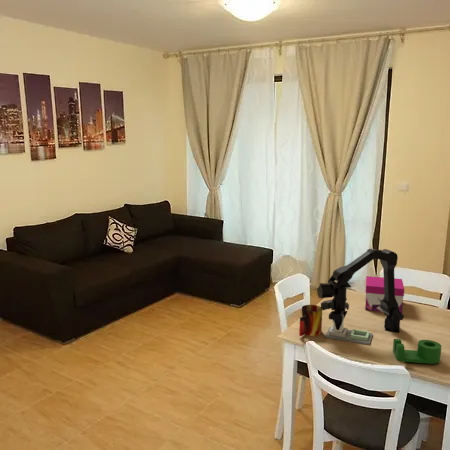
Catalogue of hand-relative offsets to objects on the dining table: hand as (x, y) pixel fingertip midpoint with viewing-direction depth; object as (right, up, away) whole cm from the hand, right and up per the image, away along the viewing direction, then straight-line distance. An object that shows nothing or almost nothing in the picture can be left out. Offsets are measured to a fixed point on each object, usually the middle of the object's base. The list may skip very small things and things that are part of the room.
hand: (338, 328), depth 214 cm
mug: (-13, -3, +2) cm, 13 cm away
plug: (0, -2, 0) cm, 2 cm away
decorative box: (+33, +3, +35) cm, 48 cm away
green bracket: (+28, -8, -23) cm, 37 cm away
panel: (+4, -4, -1) cm, 6 cm away
